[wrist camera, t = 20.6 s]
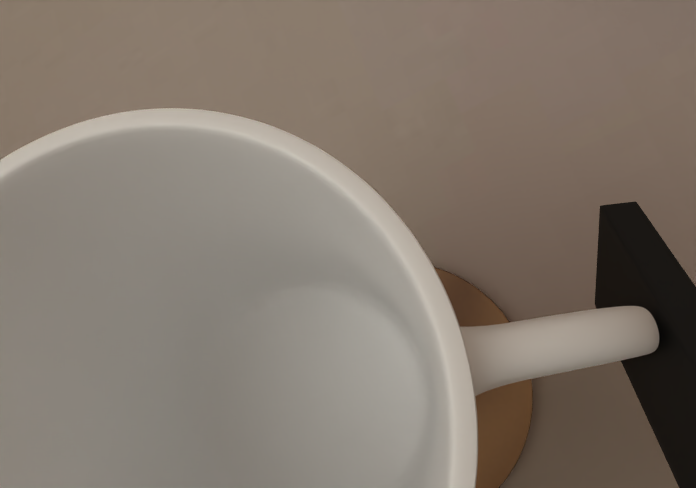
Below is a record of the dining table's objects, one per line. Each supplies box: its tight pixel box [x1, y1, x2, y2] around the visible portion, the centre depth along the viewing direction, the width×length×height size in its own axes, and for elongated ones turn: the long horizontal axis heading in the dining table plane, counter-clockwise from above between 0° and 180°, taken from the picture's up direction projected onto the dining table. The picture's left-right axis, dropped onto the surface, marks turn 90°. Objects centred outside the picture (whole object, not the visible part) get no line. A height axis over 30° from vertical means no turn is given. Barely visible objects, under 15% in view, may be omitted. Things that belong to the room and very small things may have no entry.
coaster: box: [435, 268, 533, 488], centre depth 30 cm, size 12×12×1 cm
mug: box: [0, 108, 659, 488], centre depth 13 cm, size 12×8×12 cm
